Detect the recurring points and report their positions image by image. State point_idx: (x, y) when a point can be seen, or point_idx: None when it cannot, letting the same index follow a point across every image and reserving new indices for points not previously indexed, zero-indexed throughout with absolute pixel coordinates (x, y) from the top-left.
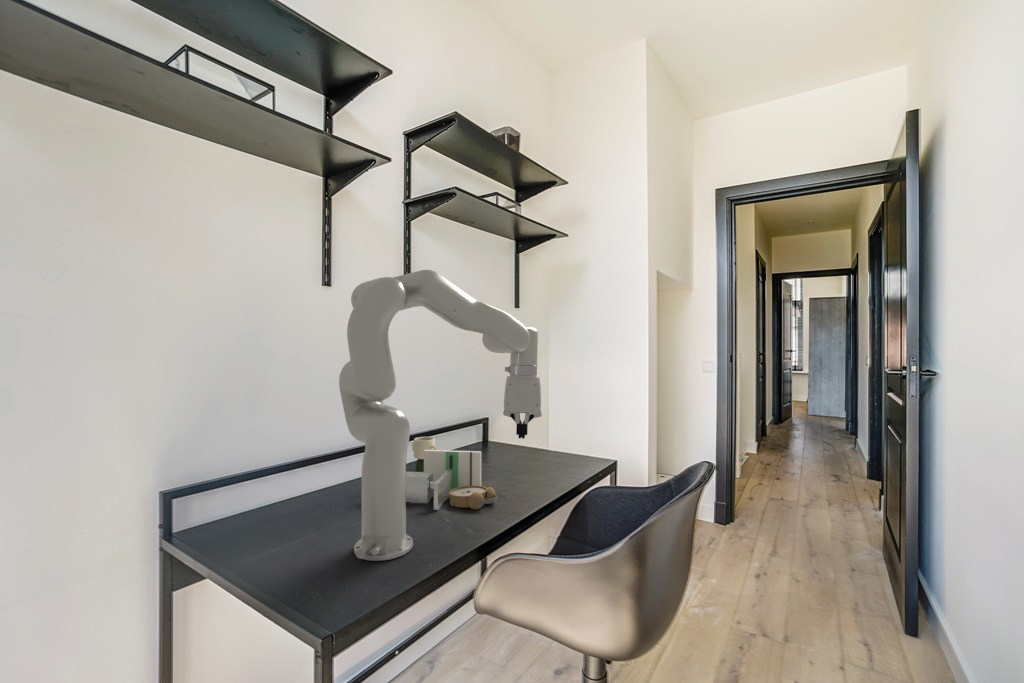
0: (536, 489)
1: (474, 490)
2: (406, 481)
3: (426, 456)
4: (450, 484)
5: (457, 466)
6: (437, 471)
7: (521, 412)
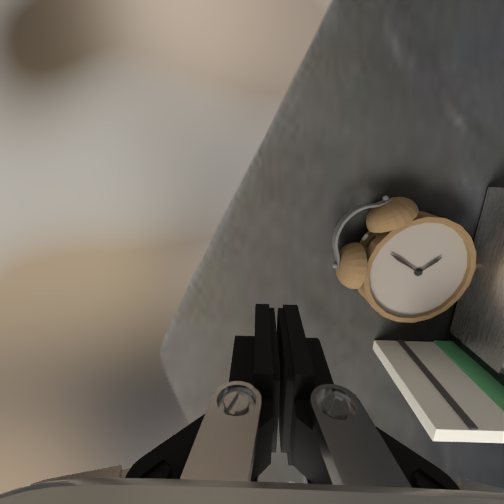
0: (229, 363)
1: (400, 286)
2: None
3: None
4: (473, 323)
5: (483, 387)
6: None
7: (314, 489)
